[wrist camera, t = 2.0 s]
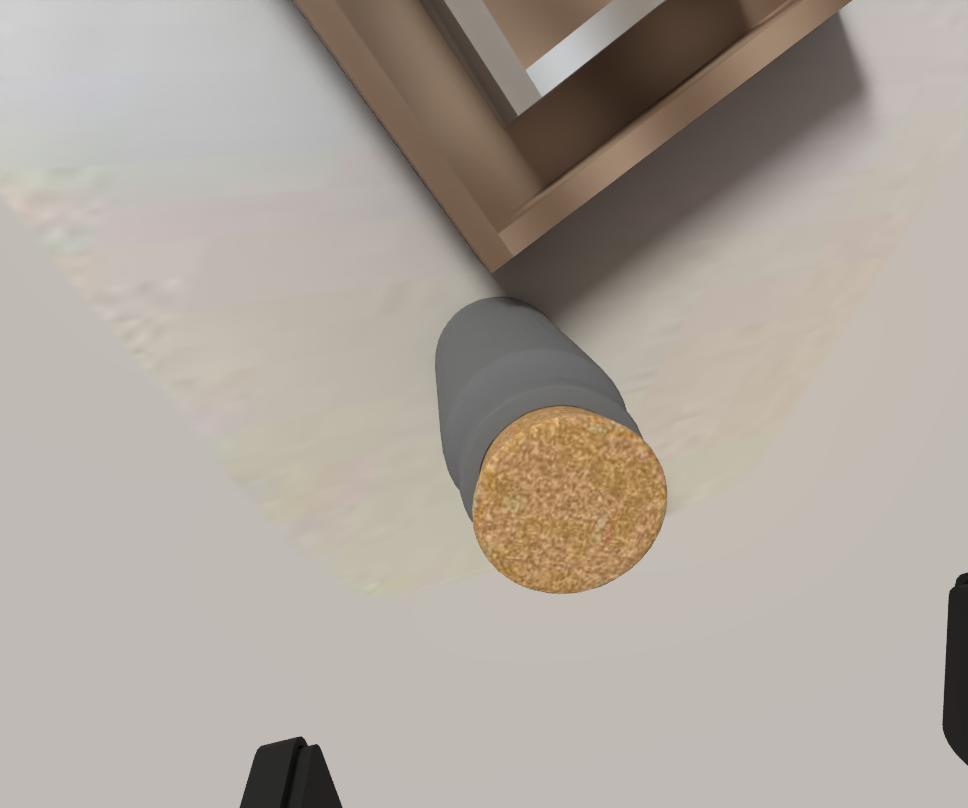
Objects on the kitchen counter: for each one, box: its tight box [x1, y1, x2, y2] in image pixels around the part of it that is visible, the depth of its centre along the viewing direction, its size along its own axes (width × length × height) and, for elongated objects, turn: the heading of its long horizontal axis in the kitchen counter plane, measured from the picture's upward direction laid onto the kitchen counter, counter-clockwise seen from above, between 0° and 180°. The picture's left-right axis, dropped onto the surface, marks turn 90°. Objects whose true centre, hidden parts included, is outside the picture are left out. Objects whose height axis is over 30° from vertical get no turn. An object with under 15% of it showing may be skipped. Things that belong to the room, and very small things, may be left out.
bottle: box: [435, 297, 667, 594], centre depth 22 cm, size 6×6×15 cm
